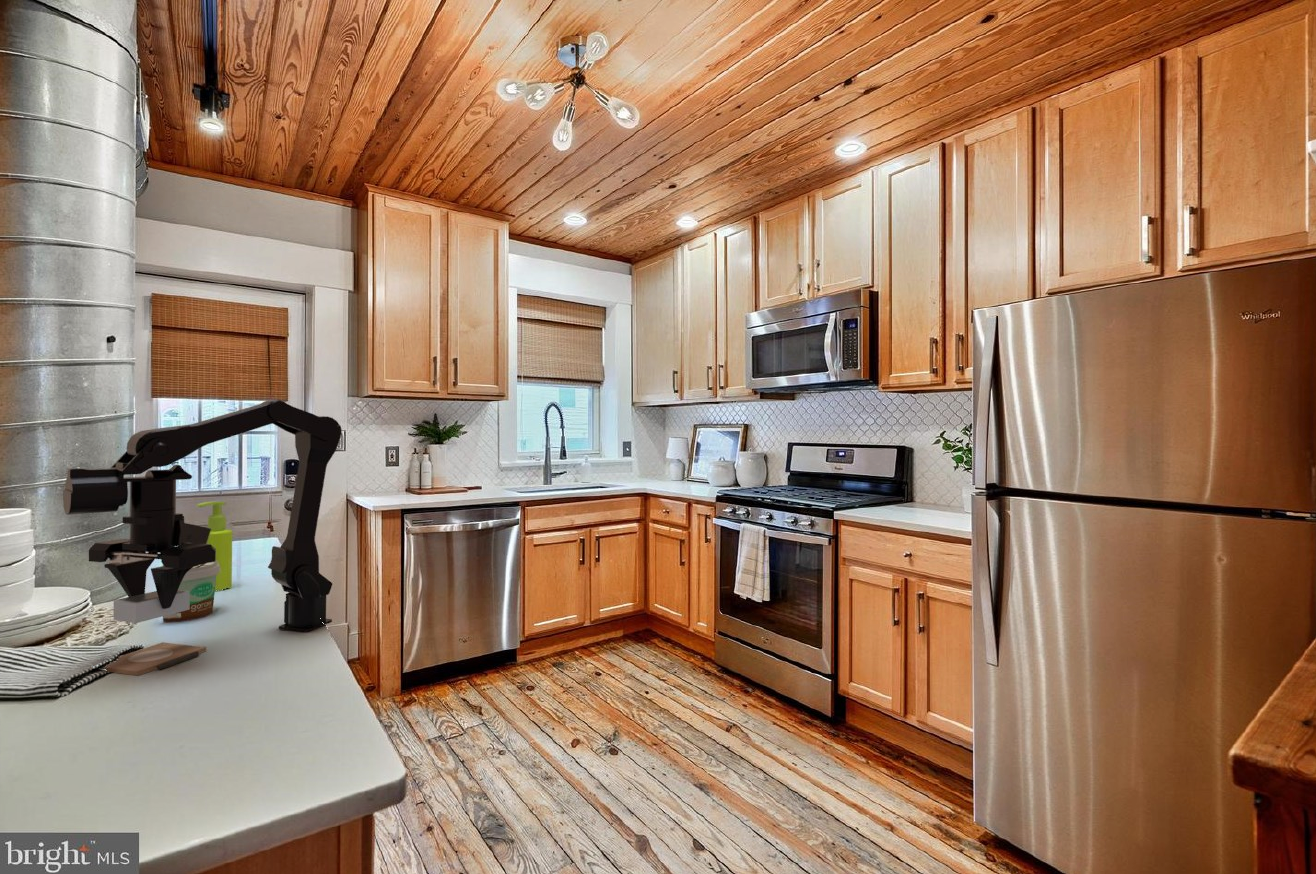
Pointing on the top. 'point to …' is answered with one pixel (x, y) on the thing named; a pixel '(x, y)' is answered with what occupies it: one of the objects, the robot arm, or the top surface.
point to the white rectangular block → (148, 607)
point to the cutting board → (154, 658)
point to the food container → (198, 592)
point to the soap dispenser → (220, 544)
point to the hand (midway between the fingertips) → (152, 606)
